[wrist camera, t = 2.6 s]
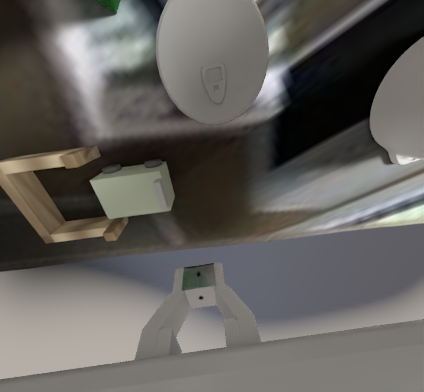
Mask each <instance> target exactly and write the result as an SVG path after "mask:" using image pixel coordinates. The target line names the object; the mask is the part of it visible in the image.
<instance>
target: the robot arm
mask: <svg viewBox="0 0 424 392" xmlns="http://www.w3.org/2000/svg"><path fill="white" fill-rule="evenodd" d="M370 129H371V133H372V135H373V137H374V139H375V141H376V142H377V143H378V144H379V145H381V146H382V147H383V148H385V149H386V150H387V151H388V154H389V157H390V160H391V162H392V163H394V164H400V165H403V164H407V163H410V162H414V161H417V160H420V159H422V160H424V37H422V38H421V39H420V40H418V41H417V42H416V43H415V44H413V45H412V46H411V47H410V48H409V49H408V50H407V51H405V52H404V53H403V54H402V55H401V57H400V58H399V59H398V60H397V61H396V62H395V63H394V65H393V66H392V67H391V69H390V70H389V71H388V73H387V74H386V76H385V77H384V79H383V81H382V82H381V84H380V86H379V88H378V90H377V92H376V95H375V97H374V100H373V103H372V107H371V112H370ZM213 305H217V307H218V308H219V310H220V311H221V313H222V314H223V316H224V317H225V321H224V326H225V336H226V346H227V347H224V348H218V349H210V350H203V351H197V352H189V353H182V354H181V352H182V350H181V348H180V346H179V344H178V341H177V339H176V336H177V334H178V332H179V330H180V328H181V326H182V324H183V322H184V321H185V319H186V317H187V315H188V313H189V311H190V309H193V308H198V307H204V306H213ZM0 392H424V319H421V320H415V321H408V322H401V323H393V324H386V325H380V326H372V327H365V328H358V329H351V330H344V331H337V332H330V333H323V334H316V335H310V336H302V337H296V338H288V339H281V340H274V341H267V342H261V340H260V336H259V333H258V329H257V325H256V321H255V317H254V314H253V313H252V312H251V311H250V310H249V308H248V307H247V306H246V305H245V304H244V303H243V302H242V301H241V300H240V298H239V297H238V296H237V295H236V294H235V293H234V292H233V291H232V290H231V288H230V287H229V286H228V285H225V282H224V275H223V269H222V263H221V262H220V263H211V264H205V265H199V266H191V267H183V268H177V269H176V272H175V278H174V285H173V292H172V293H170V294H169V295H168V297H167V298H166V299H165V300H164V302H163V303H162V304H161V306H160V307H159V308H158V310H157V311H156V312H155V314H154V315H153V316H152V318H151V319H150V320H149V322H148V323H147V324H146V326H145V327H144V328H143V330H142V333H141V337H140V341H139V345H138V348H137V352H136V357H135V360H133V361H126V362H120V363H112V364H105V365H98V366H91V367H85V368H77V369H70V370H63V371H57V372H49V373H42V374H35V375H28V376H21V377H14V378H7V379H1V380H0Z"/></svg>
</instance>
